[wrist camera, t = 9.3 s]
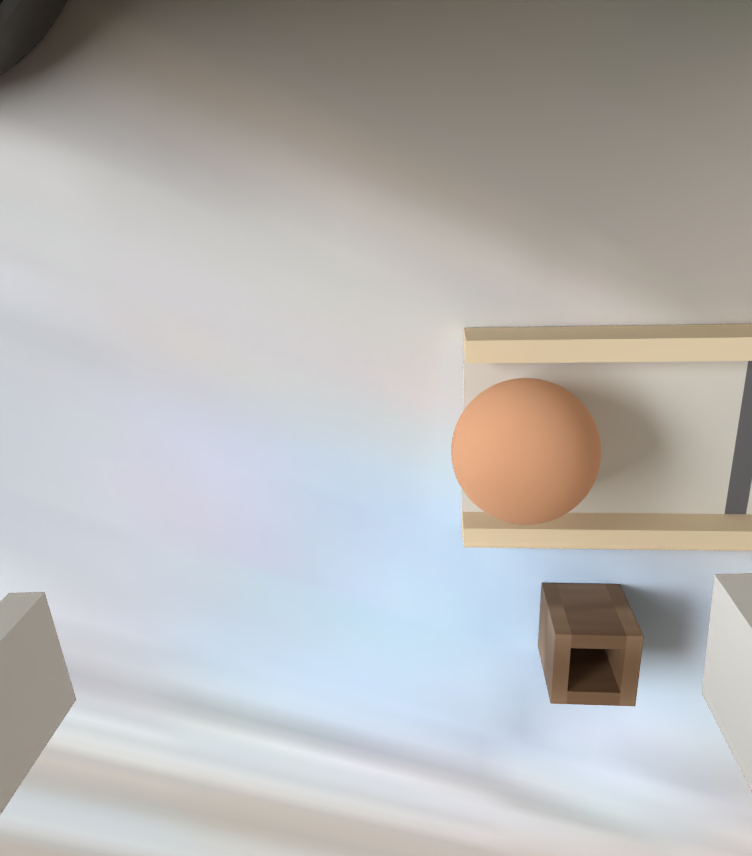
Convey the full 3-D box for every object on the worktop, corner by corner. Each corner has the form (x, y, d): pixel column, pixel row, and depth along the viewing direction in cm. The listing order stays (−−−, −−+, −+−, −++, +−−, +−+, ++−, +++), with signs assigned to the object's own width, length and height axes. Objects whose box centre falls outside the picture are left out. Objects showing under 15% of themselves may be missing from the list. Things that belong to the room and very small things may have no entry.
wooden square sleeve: (541, 583, 29) (555, 634, 26) (619, 584, 29) (643, 636, 26) (537, 646, 30) (550, 703, 27) (613, 648, 30) (635, 706, 27)
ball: (523, 367, 27) (426, 372, 24) (640, 385, 23) (541, 392, 20) (512, 492, 28) (417, 512, 25) (623, 529, 24) (526, 558, 21)
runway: (463, 327, 26) (466, 340, 24) (801, 323, 25) (835, 336, 23) (461, 520, 28) (463, 547, 26) (766, 523, 27) (793, 551, 25)
